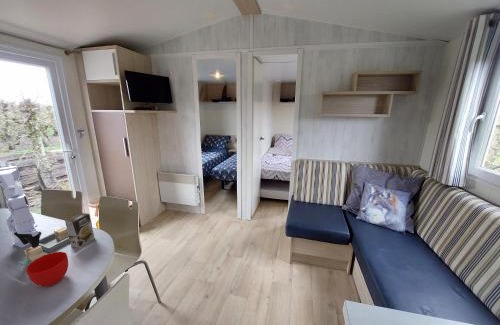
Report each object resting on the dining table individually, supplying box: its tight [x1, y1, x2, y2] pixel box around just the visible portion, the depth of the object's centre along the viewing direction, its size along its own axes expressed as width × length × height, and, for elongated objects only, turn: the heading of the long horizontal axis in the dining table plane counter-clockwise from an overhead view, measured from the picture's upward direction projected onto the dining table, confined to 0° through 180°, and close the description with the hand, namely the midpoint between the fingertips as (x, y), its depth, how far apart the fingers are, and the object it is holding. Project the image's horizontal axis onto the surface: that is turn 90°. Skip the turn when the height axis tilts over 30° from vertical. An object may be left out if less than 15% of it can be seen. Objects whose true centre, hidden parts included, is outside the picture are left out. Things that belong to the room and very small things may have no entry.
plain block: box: [53, 226, 69, 242], centre depth 121 cm, size 5×5×6 cm
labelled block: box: [23, 246, 44, 262], centre depth 106 cm, size 5×5×6 cm
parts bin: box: [39, 232, 70, 253], centre depth 119 cm, size 14×14×3 cm
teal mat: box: [18, 251, 49, 268], centre depth 106 cm, size 9×9×1 cm
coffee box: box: [64, 212, 96, 248], centre depth 117 cm, size 9×6×16 cm
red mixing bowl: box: [25, 251, 69, 288], centre depth 93 cm, size 13×17×10 cm
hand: (31, 245), depth 104 cm, fingers open, 7 cm apart
